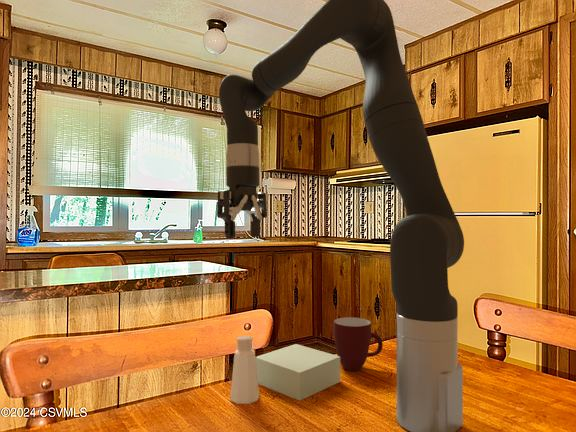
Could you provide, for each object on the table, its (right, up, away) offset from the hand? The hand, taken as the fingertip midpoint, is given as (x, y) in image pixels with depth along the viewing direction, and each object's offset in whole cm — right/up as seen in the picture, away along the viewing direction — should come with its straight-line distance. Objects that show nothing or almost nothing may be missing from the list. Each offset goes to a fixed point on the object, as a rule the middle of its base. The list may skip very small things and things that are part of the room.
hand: (243, 237), depth 96 cm
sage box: (+12, -28, -12) cm, 33 cm away
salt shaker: (+2, -28, -19) cm, 34 cm away
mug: (+25, -28, -4) cm, 38 cm away
